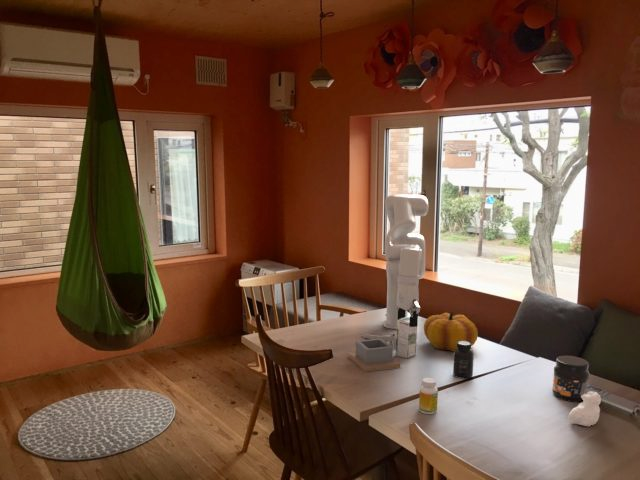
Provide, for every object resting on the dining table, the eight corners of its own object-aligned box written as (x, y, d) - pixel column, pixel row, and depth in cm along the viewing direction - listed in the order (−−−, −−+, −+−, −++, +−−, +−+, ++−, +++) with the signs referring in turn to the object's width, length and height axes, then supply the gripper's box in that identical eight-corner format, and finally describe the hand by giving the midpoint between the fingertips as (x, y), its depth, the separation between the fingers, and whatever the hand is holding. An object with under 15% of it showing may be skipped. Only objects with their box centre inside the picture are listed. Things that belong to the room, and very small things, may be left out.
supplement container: (544, 391, 183) (547, 357, 181) (568, 387, 187) (571, 353, 185) (570, 405, 173) (573, 368, 171) (594, 399, 177) (598, 364, 175)
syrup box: (404, 351, 219) (405, 316, 217) (416, 355, 215) (417, 319, 213) (395, 355, 215) (396, 319, 213) (407, 359, 211) (409, 322, 209)
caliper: (396, 349, 222) (397, 334, 221) (394, 350, 221) (395, 335, 220) (362, 336, 238) (362, 322, 237) (360, 336, 237) (360, 322, 236)
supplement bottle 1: (433, 416, 164) (434, 385, 163) (416, 411, 167) (417, 381, 165) (439, 409, 169) (440, 379, 167) (422, 405, 171) (424, 375, 170)
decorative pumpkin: (487, 349, 224) (489, 313, 221) (449, 359, 211) (451, 321, 209) (449, 335, 240) (451, 302, 238) (412, 344, 228) (413, 309, 226)
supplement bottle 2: (476, 375, 196) (478, 342, 194) (466, 380, 191) (468, 347, 189) (458, 370, 200) (460, 338, 199) (449, 375, 195) (450, 342, 194)
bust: (572, 435, 158) (597, 416, 151) (555, 412, 162) (579, 392, 155) (597, 426, 164) (622, 406, 157) (579, 403, 169) (604, 383, 161)
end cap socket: (348, 356, 213) (348, 339, 212) (381, 353, 217) (382, 335, 216) (365, 371, 198) (365, 353, 197) (400, 367, 202) (400, 349, 201)
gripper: (389, 275, 217) (388, 318, 219) (410, 284, 201) (409, 330, 203) (406, 275, 220) (405, 317, 222) (429, 283, 203) (427, 328, 205)
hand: (407, 323), depth 212 cm, fingers open, 9 cm apart
